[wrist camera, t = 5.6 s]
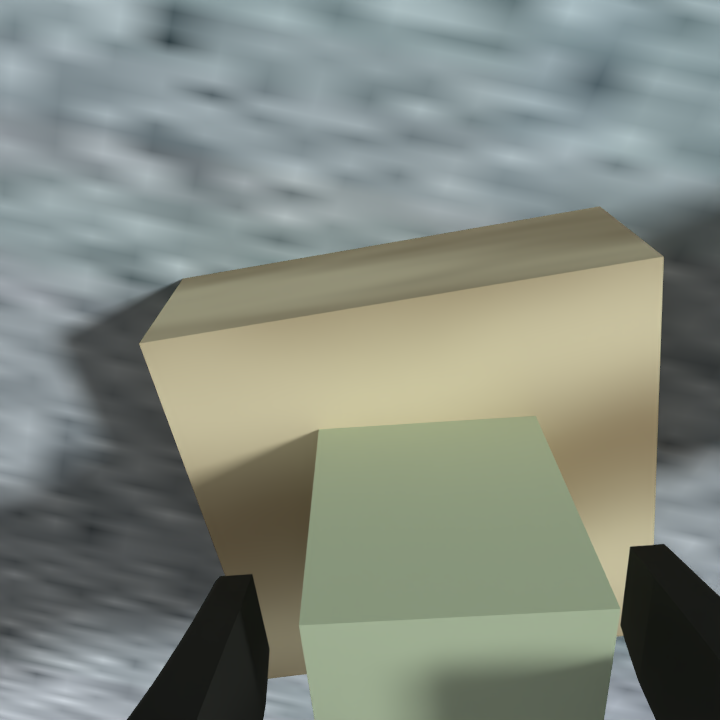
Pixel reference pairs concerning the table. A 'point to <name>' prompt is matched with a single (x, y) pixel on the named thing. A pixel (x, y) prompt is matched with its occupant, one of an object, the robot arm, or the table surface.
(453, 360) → the birch block
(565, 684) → the green block
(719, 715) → the robot arm
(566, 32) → the table surface
